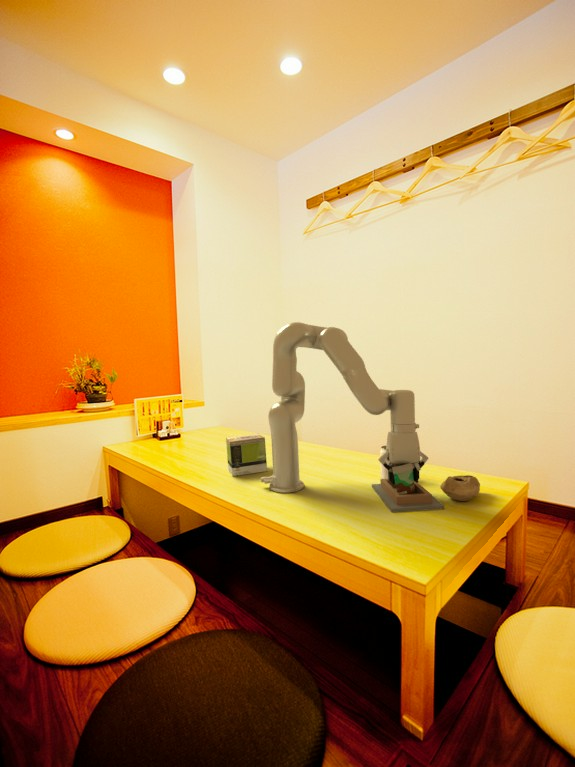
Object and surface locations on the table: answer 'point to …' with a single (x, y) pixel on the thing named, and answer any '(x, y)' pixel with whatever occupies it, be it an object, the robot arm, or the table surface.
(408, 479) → the food container
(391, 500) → the tray
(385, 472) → the can
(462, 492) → the oil lamp
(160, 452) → the table surface
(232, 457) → the tea box
